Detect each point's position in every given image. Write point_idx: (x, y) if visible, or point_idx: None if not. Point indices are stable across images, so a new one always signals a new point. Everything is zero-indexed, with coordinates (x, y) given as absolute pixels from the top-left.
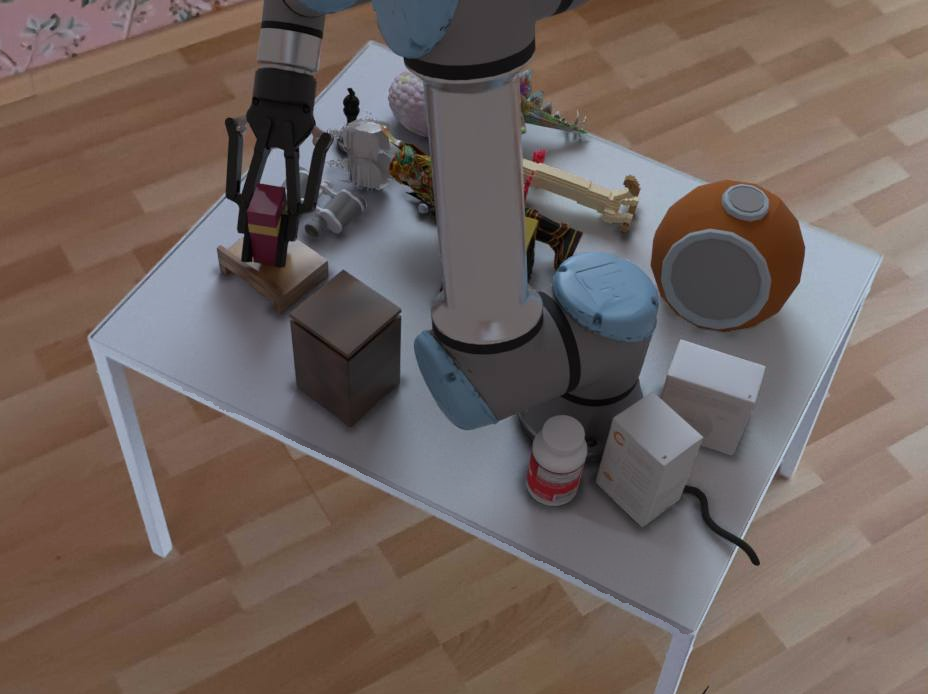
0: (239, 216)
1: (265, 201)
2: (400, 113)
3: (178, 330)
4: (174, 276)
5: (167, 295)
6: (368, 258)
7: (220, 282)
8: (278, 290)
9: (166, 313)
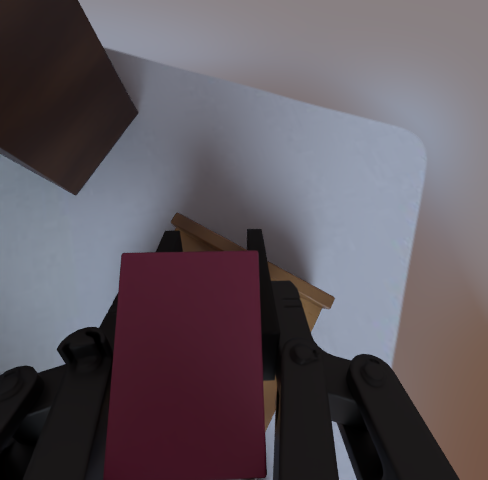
0: (302, 318)
1: (188, 339)
2: None
3: (330, 170)
4: (380, 270)
5: (373, 229)
6: None
7: (304, 274)
8: (176, 214)
9: (360, 196)
